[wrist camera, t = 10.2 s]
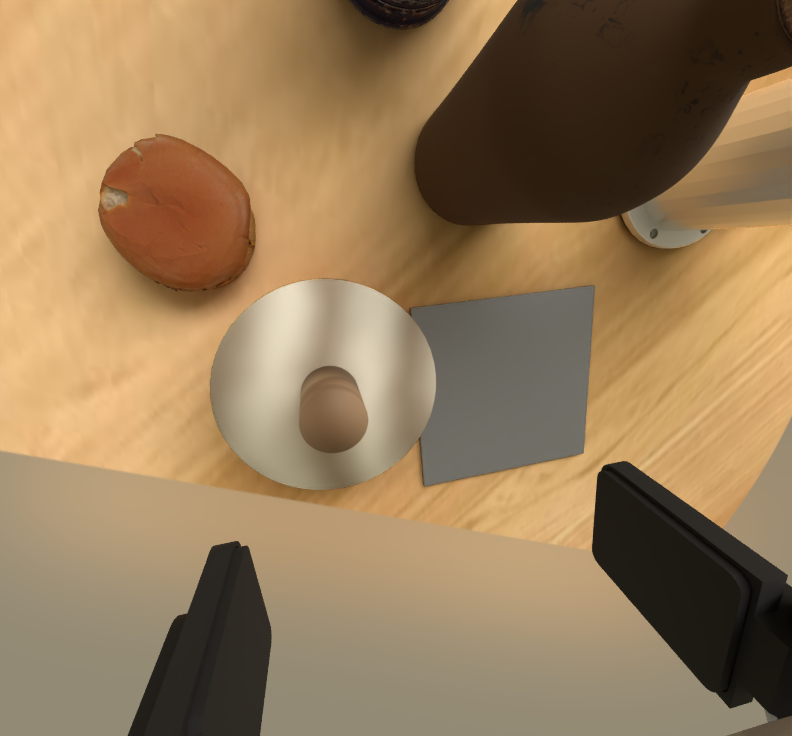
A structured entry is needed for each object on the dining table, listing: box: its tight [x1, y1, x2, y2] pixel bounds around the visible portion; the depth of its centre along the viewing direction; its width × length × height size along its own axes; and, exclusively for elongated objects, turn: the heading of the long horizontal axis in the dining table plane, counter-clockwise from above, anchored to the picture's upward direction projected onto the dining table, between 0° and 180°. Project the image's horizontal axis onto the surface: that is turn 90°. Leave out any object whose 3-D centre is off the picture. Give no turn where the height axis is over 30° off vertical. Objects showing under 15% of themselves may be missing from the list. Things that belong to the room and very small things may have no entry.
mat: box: [410, 286, 595, 486], centre depth 38 cm, size 18×18×1 cm
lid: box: [210, 278, 436, 490], centre depth 26 cm, size 16×16×6 cm
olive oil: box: [415, 0, 792, 225], centre depth 20 cm, size 11×11×25 cm
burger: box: [98, 134, 255, 291], centre depth 27 cm, size 10×9×5 cm
